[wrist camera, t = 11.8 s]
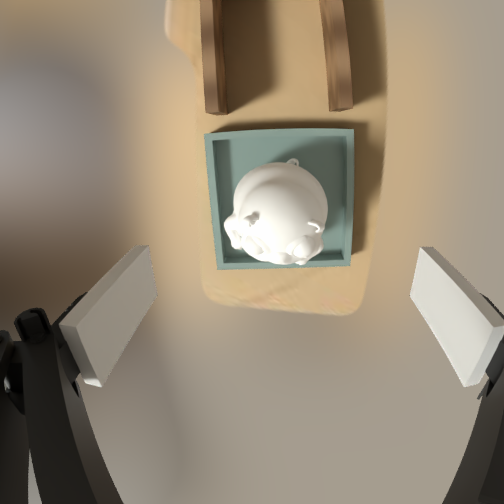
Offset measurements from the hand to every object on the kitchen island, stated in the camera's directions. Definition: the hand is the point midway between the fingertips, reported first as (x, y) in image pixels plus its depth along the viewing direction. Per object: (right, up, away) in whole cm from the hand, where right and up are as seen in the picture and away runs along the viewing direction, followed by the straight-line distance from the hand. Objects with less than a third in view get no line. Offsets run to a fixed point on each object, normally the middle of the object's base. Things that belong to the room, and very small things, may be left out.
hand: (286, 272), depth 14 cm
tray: (+2, +7, +21) cm, 22 cm away
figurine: (+1, +7, +20) cm, 21 cm away
